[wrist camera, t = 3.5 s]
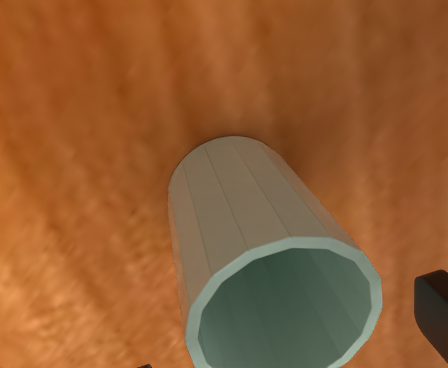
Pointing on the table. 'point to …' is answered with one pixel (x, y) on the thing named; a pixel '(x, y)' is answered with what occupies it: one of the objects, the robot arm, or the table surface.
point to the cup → (264, 264)
